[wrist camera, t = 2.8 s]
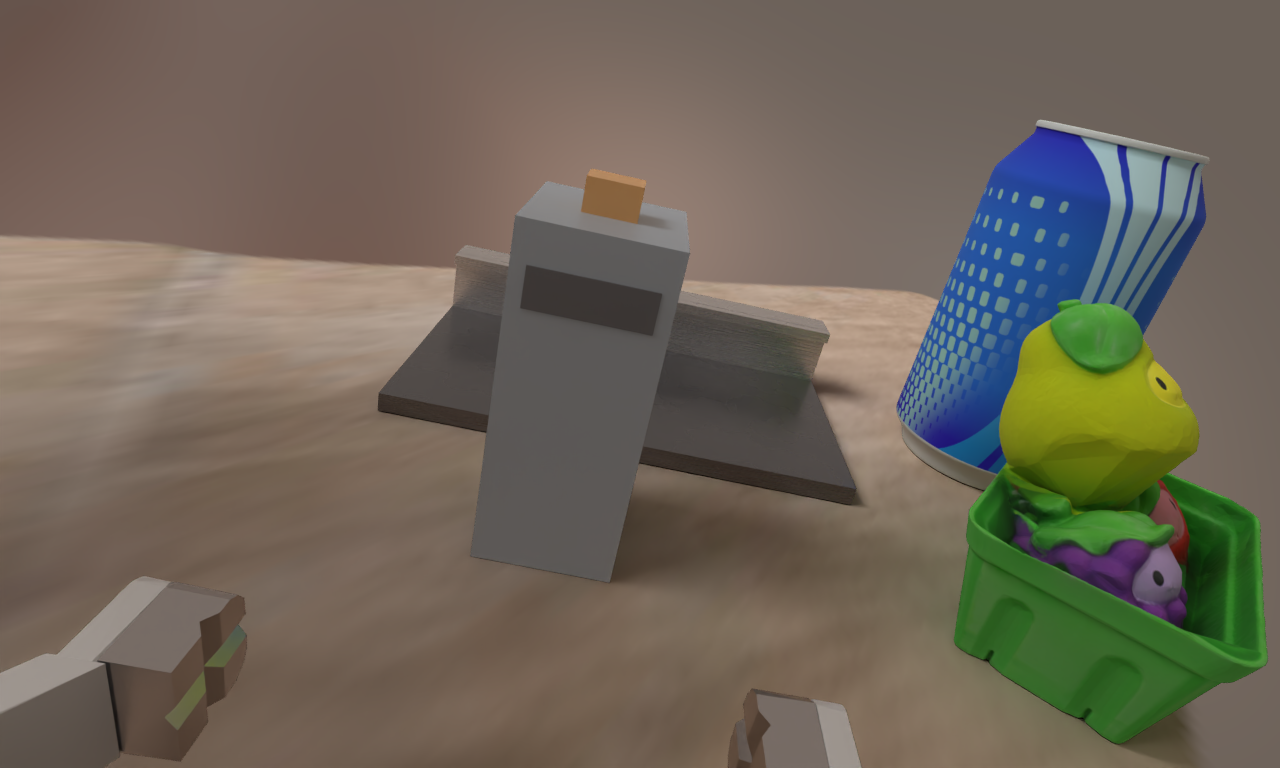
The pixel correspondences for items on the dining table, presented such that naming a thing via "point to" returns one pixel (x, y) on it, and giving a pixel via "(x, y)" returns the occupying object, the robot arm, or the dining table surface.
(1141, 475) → the fruit basket
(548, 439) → the module
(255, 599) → the dining table surface
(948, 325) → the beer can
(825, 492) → the rail plate
